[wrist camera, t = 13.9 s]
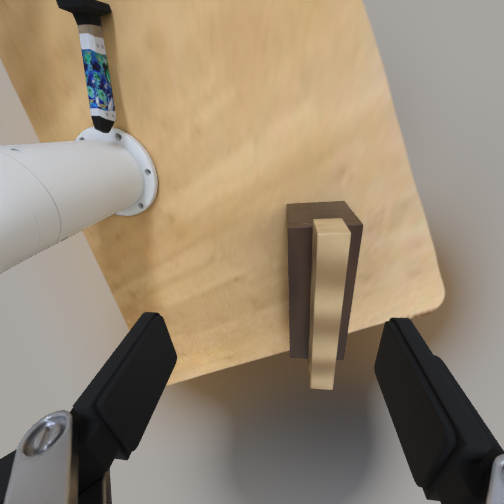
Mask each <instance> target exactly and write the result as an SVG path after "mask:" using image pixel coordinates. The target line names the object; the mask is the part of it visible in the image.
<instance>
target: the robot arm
mask: <svg viewBox="0 0 504 504" xmlns="http://www.w3.org/2000/svg"><path fill="white" fill-rule="evenodd" d="M150 172H151V173H150ZM157 188H158V179H157V173H156V169H155V166H154V164H153V161H152V159H151V158H150V156H149V154H148V152H147V151H146V150H145V149H144V147H143V146H142V145H141V144H140V143H139V142H138V141H137V140H136V139H135V138H134V137H132V136H131V135H129V134H128V133H126V132H125V131H122V130H120V129H118V128H114V127H112V129H111V131H110V132H109V133H102V132H100V131H98V130H96V129H95V128H94V127H90V128H88V129H85V130H84V131H83V132H82V133H80V134H79V136H78V137H77V138H76V140H75V141H63V142H48V143H33V144H20V145H19V144H18V145H3V146H0V274H1V273H3V272H5V271H6V270H8V269H9V268H11V267H13V266H15V265H17V264H19V263H20V262H22V261H24V260H26V259H28V258H30V257H32V256H33V255H35V254H37V253H39V252H41V251H43V250H45V249H47V248H49V247H51V246H53V245H55V244H57V243H59V242H61V241H63V240H65V239H67V238H69V237H70V236H72V235H75V234H76V233H78V232H80V231H82V230H84V229H86V228H88V227H90V226H92V225H94V224H96V223H98V222H100V221H102V220H104V219H105V218H107V217H109V216H111V215H113V214H117V215H121V216H131V215H136V214H139V213H141V212H143V211H144V210H146V209H147V208H148V207H149V206H150V205H151V204H152V203H153V201H154V199H155V197H156V194H157ZM176 361H177V354H176V352H175V349H174V346H173V343H172V341H171V338H170V335H169V332H168V330H167V327H166V324H165V321H164V319H163V317H162V316H160V314H159V313H153V312H145V313H143V314H142V315H141V317H140V318H139V319H138V321H137V322H136V323H135V325H134V326H133V327H132V329H131V330H130V331H129V333H128V334H127V335H126V337H125V338H124V339H123V341H122V342H121V343H120V345H119V346H118V347H117V348H116V350H115V351H114V352H113V354H112V355H111V356H110V358H109V359H108V360H107V362H106V363H105V364H104V366H103V367H102V368H101V370H100V371H99V372H98V373H97V375H96V376H95V378H94V379H93V380H92V381H91V383H90V384H89V385H88V387H87V388H86V389H85V391H84V392H83V393H82V395H81V396H80V397H79V399H78V400H77V401H76V402H75V404H74V405H73V409H72V410H71V411H70V413H69V412H68V411H65V410H61V411H56V412H53V413H51V414H48V415H47V416H45V417H43V418H42V419H40V420H39V421H38V422H37V423H36V424H34V425H33V426H32V427H31V428H30V429H29V430H28V431H27V433H26V434H25V435H24V436H23V438H22V439H21V441H20V443H19V445H18V448H17V449H16V450H15V451H13V452H11V453H10V454H8V455H7V456H5V457H3V458H1V459H0V504H112V499H111V483H110V466H111V464H112V462H113V460H114V458H115V459H122V460H128V459H129V456H130V454H131V452H132V451H134V450H135V449H136V448H137V446H138V445H139V442H140V440H141V438H142V436H143V434H144V431H145V429H146V427H147V425H148V423H149V420H150V419H151V416H152V414H153V412H154V410H155V408H156V405H157V403H158V401H159V399H160V396H161V395H162V392H163V390H164V388H165V386H166V384H167V382H168V379H169V377H170V375H171V373H172V371H173V369H174V366H175V364H176ZM374 369H375V374H376V377H377V380H378V383H379V386H380V388H381V391H382V394H383V396H384V399H385V402H386V405H387V407H388V410H389V413H390V416H391V418H392V421H393V424H394V427H395V429H396V432H397V434H398V438H399V440H400V443H401V445H402V448H403V451H404V454H405V457H406V459H407V462H408V465H409V468H410V470H411V473H412V475H413V478H414V481H415V482H416V484H417V485H418V486H419V487H422V488H423V491H424V493H425V496H426V499H428V500H436V501H440V502H441V504H504V451H503V449H502V448H501V446H500V445H499V443H498V442H497V440H496V439H495V438H494V436H493V435H492V434H491V432H490V430H489V429H488V427H487V426H486V424H485V423H484V422H483V420H482V418H481V417H480V415H479V414H478V412H477V411H476V409H475V408H474V406H473V405H472V404H471V402H470V400H469V399H468V398H467V396H466V395H465V393H464V392H463V390H462V389H461V387H460V386H459V384H458V383H457V381H456V380H455V378H454V377H453V375H452V374H451V372H450V371H449V369H448V368H447V366H446V365H445V363H444V362H443V361H442V360H441V359H440V358H439V357H437V356H435V355H433V354H432V352H431V351H430V349H429V348H428V346H427V344H426V343H425V341H424V340H423V338H422V337H421V335H420V334H419V332H418V331H417V329H416V328H415V326H414V324H413V323H412V321H411V320H410V319H409V318H391V319H390V321H386V322H385V325H384V330H383V333H382V337H381V341H380V345H379V349H378V353H377V357H376V362H375V366H374Z"/></svg>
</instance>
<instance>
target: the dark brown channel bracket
mask: <svg viewBox="0 0 504 504" xmlns="http://www.w3.org/2000/svg"><path fill="white" fill-rule="evenodd" d="M332 218H342V219H343V221H344V222H345V224H346V226H347V227H348V229H349V231H350V232H351V239H350V247H349V255H348V264H347V272H346V280H345V289H344V297H343V305H342V314H341V322H340V330H339V339H338V347H337V355H336V360H344V353H345V346H346V338H347V333H348V326H349V319H350V312H351V305H352V299H353V292H354V285H355V278H356V271H357V264H358V258H359V251H360V244H361V237H362V230H363V224H362V223H361V221H360V220H359V219H358V218H357V216H356V215H355V214H354V213H353V211H352V210H351V209H350V208H349V206H348V205H347V204H346V203H345V201H336V202H317V203H297V204H287V225H288V274H289V332H290V357H291V358H308V353H309V324H310V295H311V266H312V237H313V219H332Z"/></svg>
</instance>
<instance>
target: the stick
mask: <svg viewBox="0 0 504 504" xmlns="http://www.w3.org/2000/svg"><path fill="white" fill-rule="evenodd" d="M350 239H351V232H350V231H349V229H348V227H347V226H346V224H345V222H344V221H343V219H342V218H332V219H313V237H312V266H311V295H310V324H309V353H308V367H309V376H310V387H311V388H314V389H329V390H332V388H333V380H334V372H335V364H336V355H337V347H338V339H339V330H340V322H341V314H342V305H343V297H344V289H345V280H346V272H347V264H348V255H349V247H350Z"/></svg>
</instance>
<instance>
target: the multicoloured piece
mask: <svg viewBox="0 0 504 504" xmlns="http://www.w3.org/2000/svg"><path fill="white" fill-rule="evenodd" d="M56 1H57V4H58V6H59V8H61V9H63V10H66V11H68V12H71V13H73V15H74V18H75V20H76V22H77V25H78V29H79V36H80V43H81V49H82V56H83V63H84V70H85V76H86V83H87V90H88V97H89V104H90V111H91V117H92V120H93V124H94V128H95V129H96V130H98V131H100V132H102V133H109V132H110V131H111V129H112V127H113V124H114V122H115V119H116V112H115V106H114V100H113V94H112V88H111V82H110V76H109V70H108V63H107V57H106V51H105V45H104V39H103V33H102V27H101V19H100V16H101V15H104V14H107V13H111V9H110V6H109V4H106V3H102V2H99V1H96V0H56Z"/></svg>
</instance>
